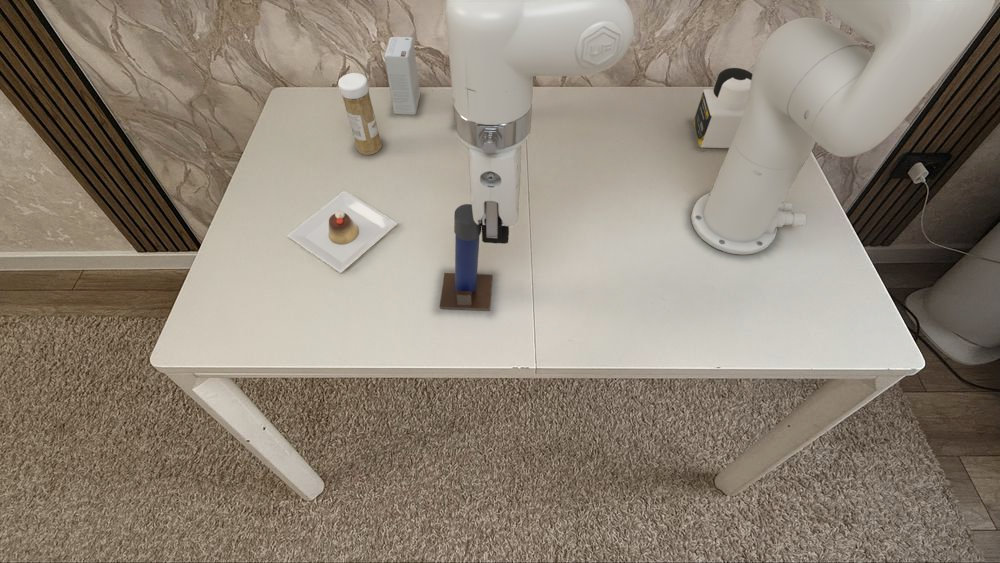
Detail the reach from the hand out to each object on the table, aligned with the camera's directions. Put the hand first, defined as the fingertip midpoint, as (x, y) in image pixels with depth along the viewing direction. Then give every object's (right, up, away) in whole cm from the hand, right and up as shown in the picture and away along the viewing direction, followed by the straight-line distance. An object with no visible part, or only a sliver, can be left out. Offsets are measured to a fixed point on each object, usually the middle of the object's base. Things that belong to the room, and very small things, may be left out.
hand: (495, 238), depth 69 cm
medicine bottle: (+39, +20, +30) cm, 53 cm away
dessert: (-24, +2, +17) cm, 29 cm away
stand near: (-4, -7, +10) cm, 13 cm away
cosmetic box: (-17, +28, +36) cm, 48 cm away
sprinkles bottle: (-22, +18, +29) cm, 41 cm away
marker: (-4, -6, +8) cm, 11 cm away
